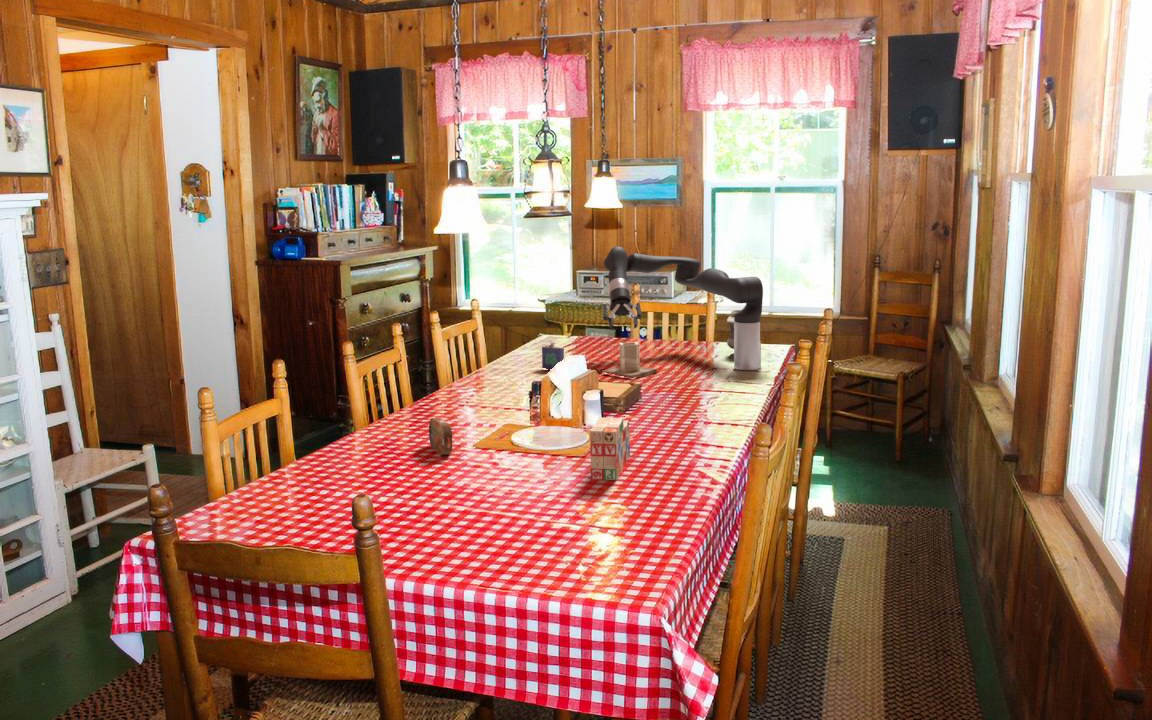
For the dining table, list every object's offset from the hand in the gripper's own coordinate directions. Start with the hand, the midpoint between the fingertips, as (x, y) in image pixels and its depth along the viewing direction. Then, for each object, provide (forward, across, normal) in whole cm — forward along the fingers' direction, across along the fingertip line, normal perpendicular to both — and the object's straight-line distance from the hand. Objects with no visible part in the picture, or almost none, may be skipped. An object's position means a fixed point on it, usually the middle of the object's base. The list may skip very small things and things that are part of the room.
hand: (623, 327), depth 344 cm
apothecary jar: (+1, -48, -21) cm, 52 cm away
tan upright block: (+16, -1, -3) cm, 17 cm away
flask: (+10, +26, -13) cm, 31 cm away
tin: (+80, +60, +58) cm, 116 cm away
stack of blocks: (+94, +17, +73) cm, 120 cm away
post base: (+18, -1, -4) cm, 18 cm away
